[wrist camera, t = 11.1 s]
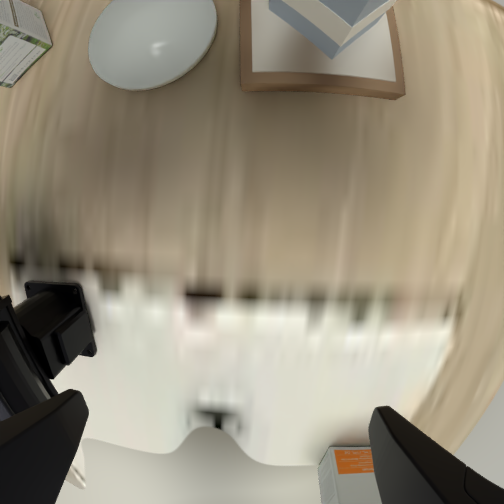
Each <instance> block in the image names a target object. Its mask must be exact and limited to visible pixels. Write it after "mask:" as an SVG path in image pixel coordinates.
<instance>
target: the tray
mask: <svg viewBox="0 0 504 504" xmlns="http://www.w3.org/2000/svg"><path fill="white" fill-rule="evenodd" d="M240 84H241V87H242V91H304V92H324V93H338V94H350V95H360V96H368V97H377V98H384V99H391V100H396V99H398V98H400V97H402V96H404V95H406V93H405V82H404V73H403V65H402V57H401V50H400V43H399V37H398V31H397V26H396V20H395V15H394V10H393V6H392V7H391V8H390V9H389V10H387V11H386V12H385V14H384V15H383V16H382V17H381V19H380V20H379V21H378V22H377V24H375V25H374V26H373V27H371V28H370V29H369V30H368V31H366V32H365V33H364V34H362V35H361V36H360V37H359V38H357V39H356V40H355V41H354V42H352V43H351V44H350V45H349V46H348V47H346V48H345V49H344V50H343V51H342V52H340V53H339V54H338V55H337V56H336V57H334V58H333V59H332V60H331V59H330V58H329V57H328V56H327V55H326V54H325V53H324V52H322V51H321V50H320V49H319V48H318V47H317V46H315V45H314V44H313V43H312V42H311V41H309V40H308V39H307V38H306V37H304V36H303V35H302V34H301V33H300V32H298V31H297V30H296V29H294V28H293V27H292V26H291V25H289V24H288V23H287V22H285V21H284V20H283V19H281V18H280V17H279V16H277V15H276V14H274V13H273V12H272V11H270V10H269V0H240Z"/></svg>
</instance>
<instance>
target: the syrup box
mask: <svg viewBox="0 0 504 504" xmlns="http://www.w3.org/2000/svg"><path fill="white" fill-rule="evenodd" d="M51 46H52V43H51V39H50V36H49V33H48V30H47V27H46V24H45V21H44V18H43V15H42V12H41V11H40V10H38V9H36V8H34V7H32V6H30V5H28V4H26V3H24V2H22V1H20V0H0V86H3V87H8V88H11V87H12V86H13V85H14V84H15V83H16V82H17V80H18V79H19V78H20V77H21V76H22V75H23V74H24V73H25V72H26V71H27V70H28V69H29V68H30V67H31V66H32V65H33V64H34V63H35V62H36V61H37V60H38V59H39V58H40V57H41V56H42V55H43V54H44V53H45V52H46V51H47V50H48V49H49V48H50V47H51Z"/></svg>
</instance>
